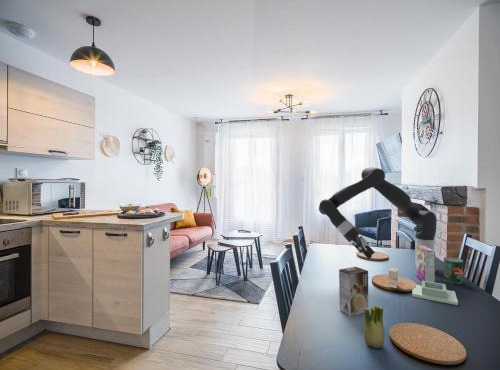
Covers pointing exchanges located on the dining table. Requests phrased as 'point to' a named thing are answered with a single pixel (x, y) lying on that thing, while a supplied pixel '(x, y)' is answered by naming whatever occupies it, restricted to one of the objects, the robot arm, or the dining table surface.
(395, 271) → the ash slat
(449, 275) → the canned tomato
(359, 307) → the coffee box
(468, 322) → the dining table surface
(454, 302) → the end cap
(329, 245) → the dining table surface
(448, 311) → the dining table surface
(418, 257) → the candy bar box
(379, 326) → the fennel bulb
